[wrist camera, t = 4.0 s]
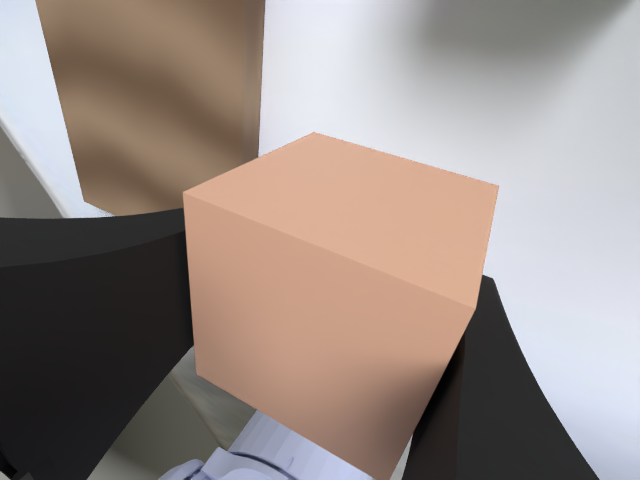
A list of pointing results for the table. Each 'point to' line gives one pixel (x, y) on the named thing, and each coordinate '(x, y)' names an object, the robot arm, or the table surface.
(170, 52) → the walnut base
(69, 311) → the robot arm
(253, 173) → the terracotta block
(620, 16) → the table surface
